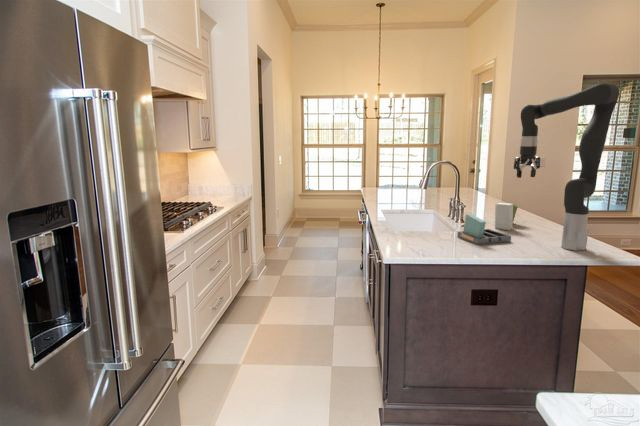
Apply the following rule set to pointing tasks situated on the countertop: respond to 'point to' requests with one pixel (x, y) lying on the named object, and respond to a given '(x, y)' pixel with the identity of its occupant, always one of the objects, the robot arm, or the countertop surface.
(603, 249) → the countertop surface
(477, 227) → the panel
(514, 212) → the plant pot
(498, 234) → the rack
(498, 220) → the skincare box
